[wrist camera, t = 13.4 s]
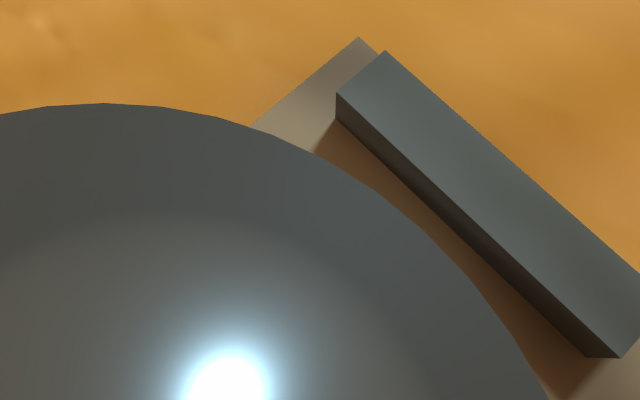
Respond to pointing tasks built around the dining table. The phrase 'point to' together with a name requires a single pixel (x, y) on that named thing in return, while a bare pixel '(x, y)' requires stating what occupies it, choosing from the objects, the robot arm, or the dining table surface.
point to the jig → (477, 218)
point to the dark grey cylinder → (223, 272)
